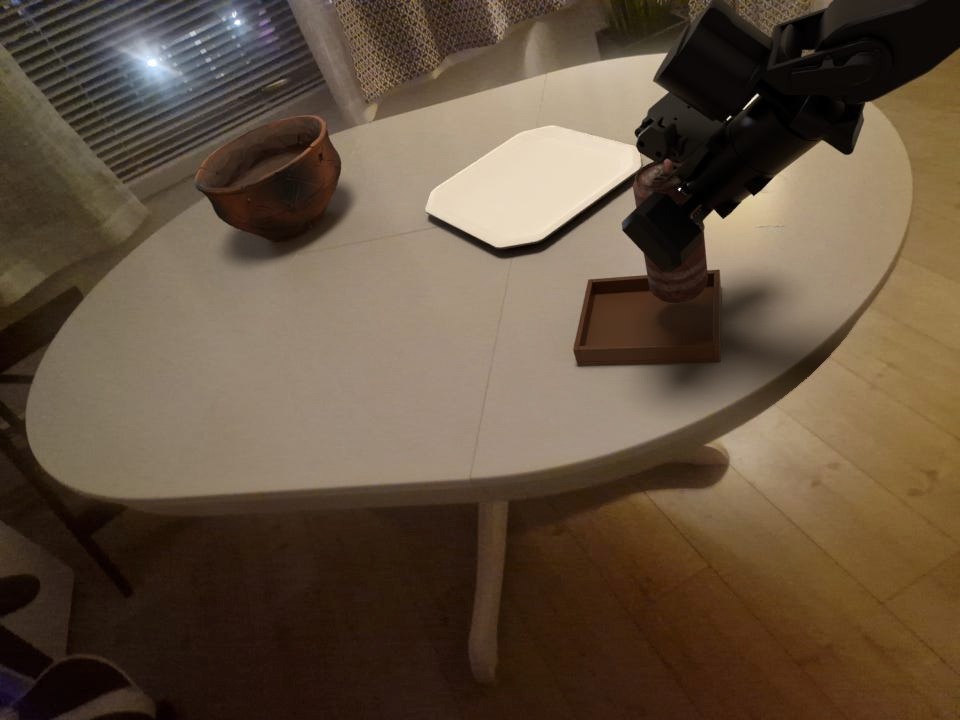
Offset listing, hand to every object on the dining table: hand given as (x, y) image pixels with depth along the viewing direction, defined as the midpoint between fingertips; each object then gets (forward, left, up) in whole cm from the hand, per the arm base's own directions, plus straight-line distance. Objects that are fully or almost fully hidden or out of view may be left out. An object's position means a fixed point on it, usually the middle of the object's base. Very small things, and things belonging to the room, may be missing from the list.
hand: (660, 228), depth 67 cm
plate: (+23, -31, -12) cm, 41 cm away
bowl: (+69, -31, -12) cm, 77 cm away
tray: (+2, +2, -12) cm, 12 cm away
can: (-1, +1, -7) cm, 7 cm away
